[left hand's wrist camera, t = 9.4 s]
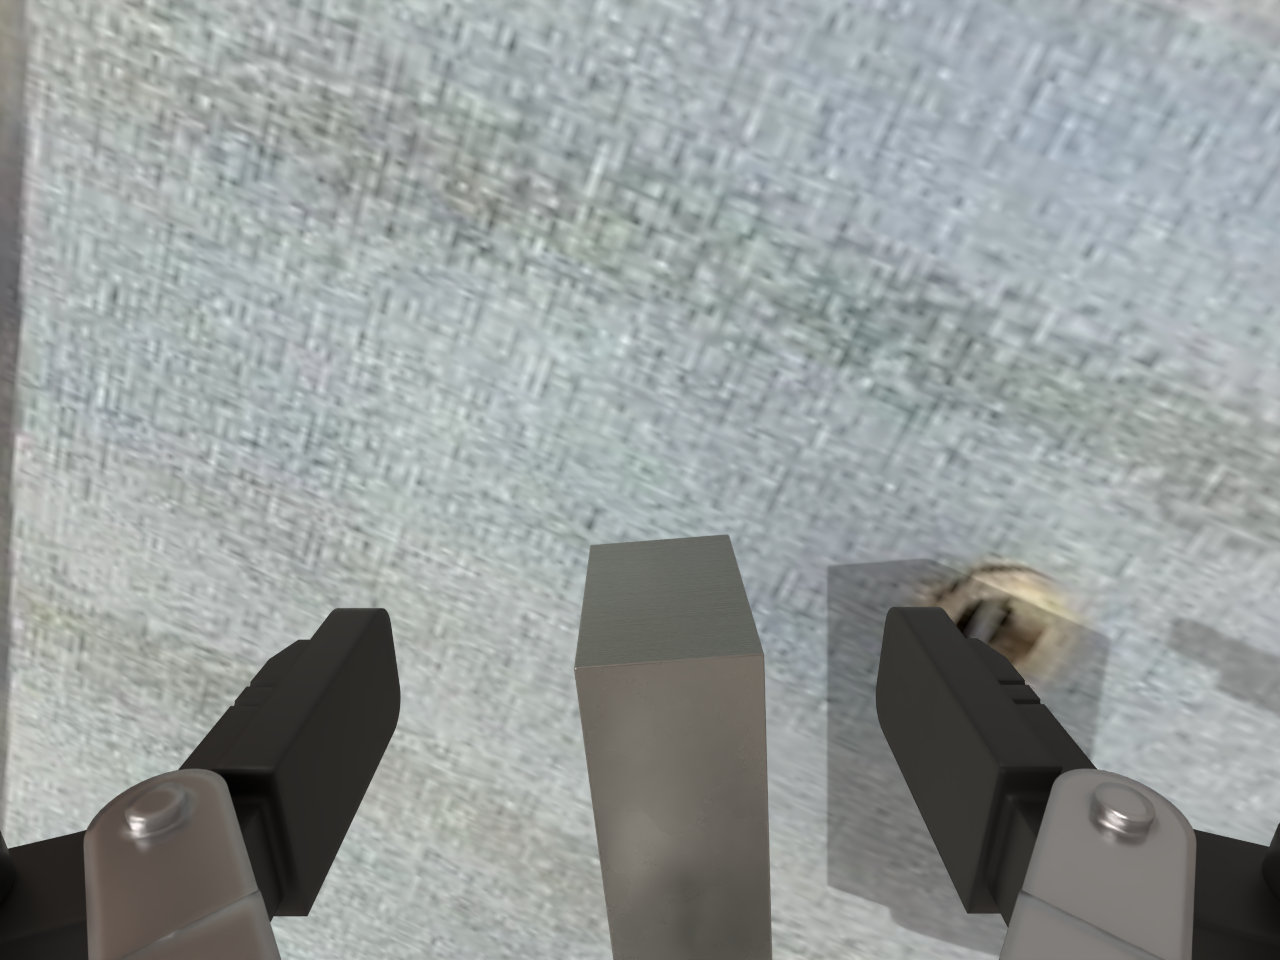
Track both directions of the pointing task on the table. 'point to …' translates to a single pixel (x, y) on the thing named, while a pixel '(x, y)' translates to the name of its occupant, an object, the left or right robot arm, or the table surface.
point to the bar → (676, 749)
